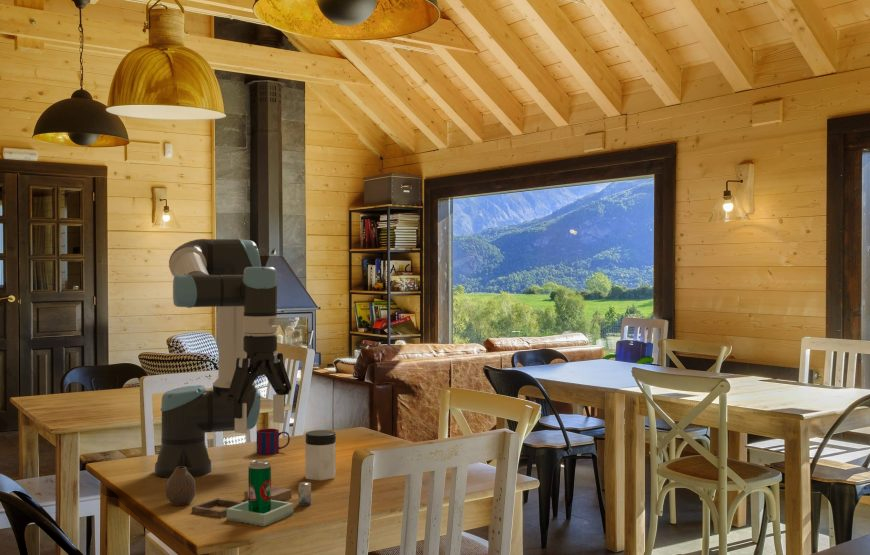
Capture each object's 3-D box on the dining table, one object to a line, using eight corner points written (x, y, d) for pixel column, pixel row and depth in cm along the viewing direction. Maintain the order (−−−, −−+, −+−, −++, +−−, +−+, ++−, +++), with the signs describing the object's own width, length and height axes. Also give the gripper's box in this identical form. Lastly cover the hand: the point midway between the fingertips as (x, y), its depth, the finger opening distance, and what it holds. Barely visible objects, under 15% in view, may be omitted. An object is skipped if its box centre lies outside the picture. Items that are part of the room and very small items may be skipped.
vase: (167, 508, 200) (167, 471, 200) (164, 501, 207) (164, 465, 206) (197, 505, 203) (197, 469, 203) (193, 498, 209) (193, 462, 209)
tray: (226, 519, 192) (226, 508, 192) (256, 508, 201) (256, 497, 201) (264, 526, 187) (264, 515, 187) (293, 514, 196) (293, 503, 196)
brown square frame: (192, 512, 197) (192, 507, 197) (217, 502, 205) (217, 497, 205) (221, 517, 193) (221, 512, 193) (246, 507, 201) (246, 502, 201)
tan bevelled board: (244, 501, 208) (244, 491, 208) (263, 494, 214) (263, 484, 214) (273, 506, 204) (273, 496, 204) (291, 499, 210) (291, 489, 210)
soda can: (246, 512, 195) (246, 460, 195) (268, 510, 197) (268, 458, 197) (250, 518, 190) (250, 465, 190) (273, 516, 192) (273, 463, 192)
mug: (258, 450, 264) (258, 428, 264) (291, 450, 264) (291, 428, 264) (254, 455, 257) (254, 432, 257) (287, 455, 257) (287, 432, 257)
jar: (312, 482, 225) (312, 437, 225) (299, 475, 232) (299, 432, 232) (342, 477, 230) (342, 433, 230) (328, 471, 237) (328, 428, 237)
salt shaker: (295, 505, 204) (295, 484, 203) (303, 502, 206) (303, 481, 206) (306, 506, 202) (306, 485, 202) (313, 503, 205) (313, 483, 205)
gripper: (236, 339, 181) (236, 438, 181) (306, 331, 203) (306, 419, 203) (209, 337, 184) (209, 435, 184) (280, 329, 206) (280, 417, 207)
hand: (260, 427), depth 194 cm, fingers open, 13 cm apart
